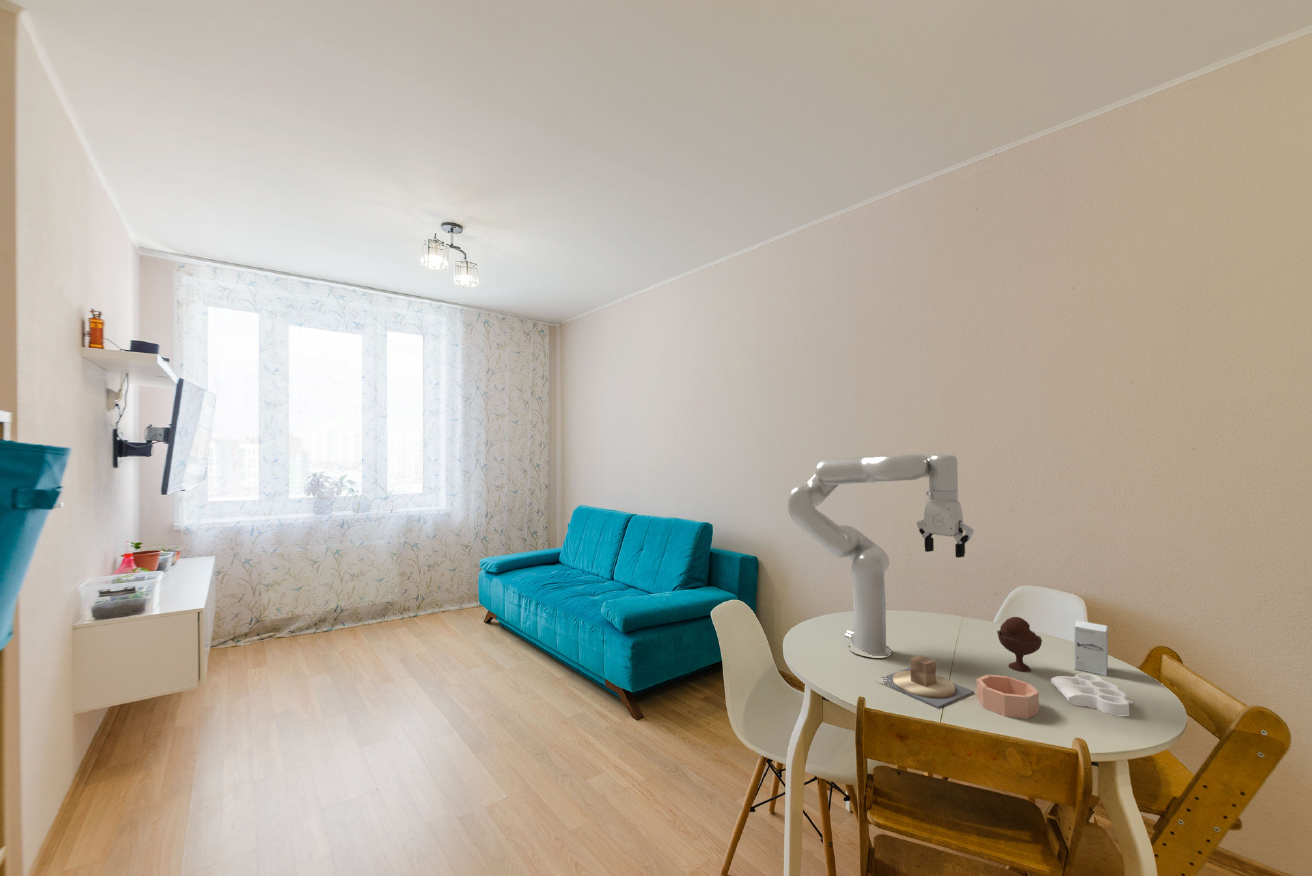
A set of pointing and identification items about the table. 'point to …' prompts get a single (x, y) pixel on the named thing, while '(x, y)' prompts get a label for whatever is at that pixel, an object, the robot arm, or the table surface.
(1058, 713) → the table surface
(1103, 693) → the white holed part
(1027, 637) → the ice cream bowl
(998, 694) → the terracotta bowl
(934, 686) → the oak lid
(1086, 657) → the supplement box
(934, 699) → the rubber mat
